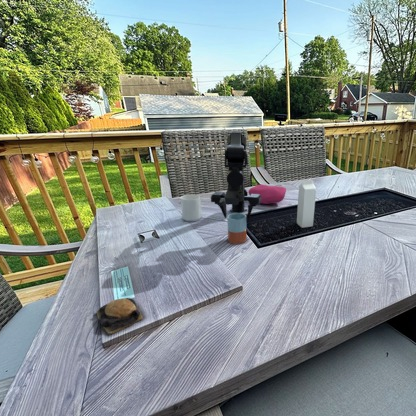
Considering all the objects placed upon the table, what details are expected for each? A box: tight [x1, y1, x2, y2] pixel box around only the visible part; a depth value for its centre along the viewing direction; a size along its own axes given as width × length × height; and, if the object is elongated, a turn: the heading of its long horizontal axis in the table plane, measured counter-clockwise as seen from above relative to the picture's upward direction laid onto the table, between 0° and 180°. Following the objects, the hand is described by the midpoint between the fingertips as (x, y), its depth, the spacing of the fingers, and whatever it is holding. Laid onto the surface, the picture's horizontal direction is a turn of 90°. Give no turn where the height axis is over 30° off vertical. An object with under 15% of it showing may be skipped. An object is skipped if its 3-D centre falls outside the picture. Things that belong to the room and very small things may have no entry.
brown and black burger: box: [96, 297, 144, 336], centre depth 65 cm, size 11×8×4 cm
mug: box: [180, 193, 203, 223], centre depth 126 cm, size 12×9×11 cm
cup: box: [227, 229, 247, 245], centre depth 107 cm, size 7×7×5 cm
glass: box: [226, 212, 247, 233], centre depth 106 cm, size 7×7×6 cm
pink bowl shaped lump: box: [247, 184, 287, 205], centre depth 155 cm, size 23×19×10 cm
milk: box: [296, 179, 317, 229], centre depth 123 cm, size 6×6×22 cm
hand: (236, 218), depth 105 cm, fingers open, 9 cm apart
